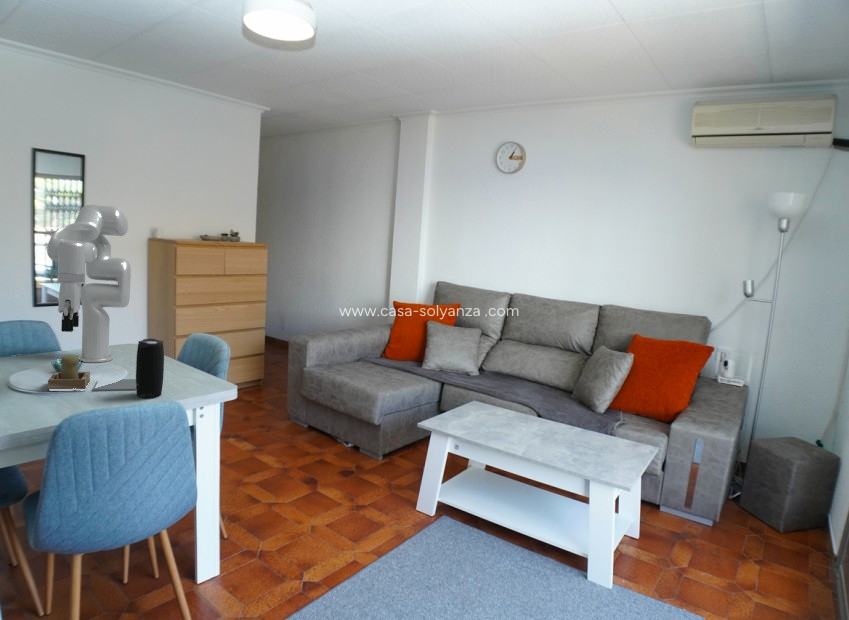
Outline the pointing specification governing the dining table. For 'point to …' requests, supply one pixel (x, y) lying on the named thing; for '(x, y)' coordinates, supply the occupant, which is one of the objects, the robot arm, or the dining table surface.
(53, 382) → the walnut holder
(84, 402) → the dining table surface
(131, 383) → the charcoal mat
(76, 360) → the olive bottle
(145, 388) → the portable speaker
